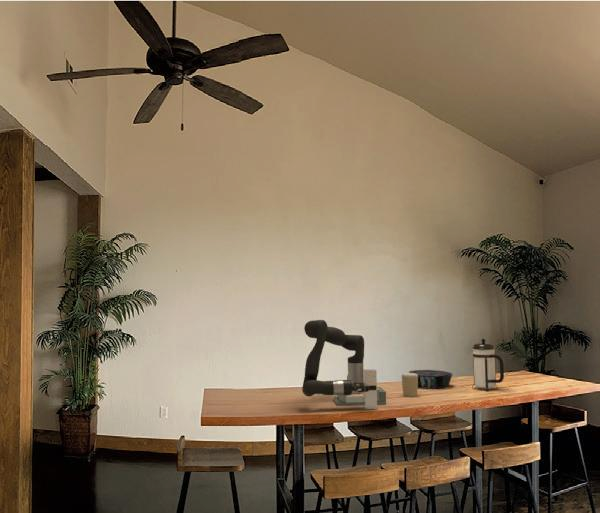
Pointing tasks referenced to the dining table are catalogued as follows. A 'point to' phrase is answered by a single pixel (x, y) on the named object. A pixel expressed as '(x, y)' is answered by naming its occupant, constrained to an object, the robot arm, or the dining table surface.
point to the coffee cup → (410, 384)
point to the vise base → (360, 401)
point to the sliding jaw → (341, 398)
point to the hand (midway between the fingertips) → (375, 386)
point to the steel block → (371, 395)
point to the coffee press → (485, 366)
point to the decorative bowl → (432, 378)
